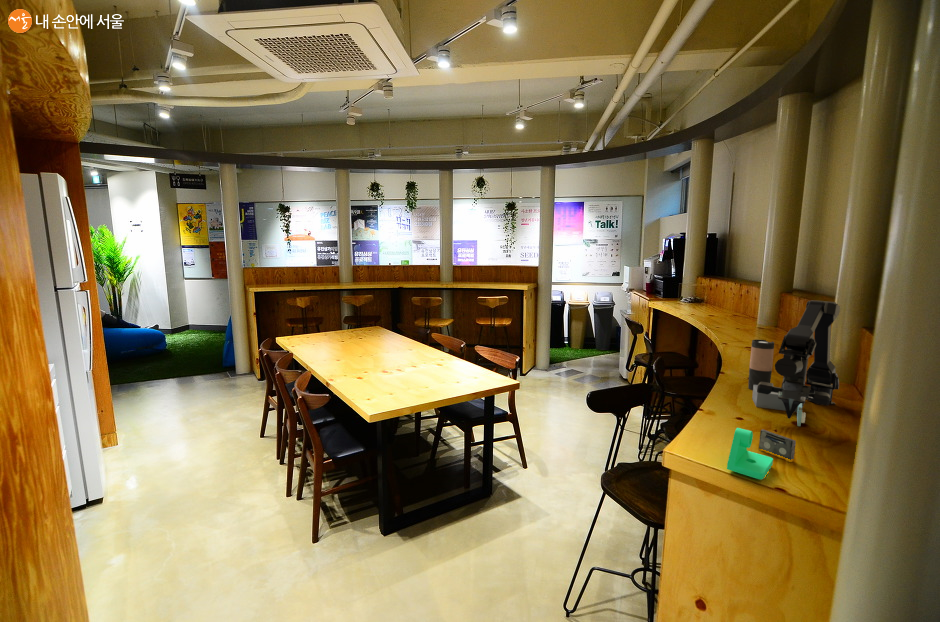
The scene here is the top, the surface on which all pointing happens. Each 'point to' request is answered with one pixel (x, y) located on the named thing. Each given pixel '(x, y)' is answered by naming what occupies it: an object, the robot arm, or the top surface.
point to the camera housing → (769, 400)
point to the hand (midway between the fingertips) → (788, 418)
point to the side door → (800, 415)
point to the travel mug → (760, 362)
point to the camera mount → (747, 456)
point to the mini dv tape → (777, 444)
